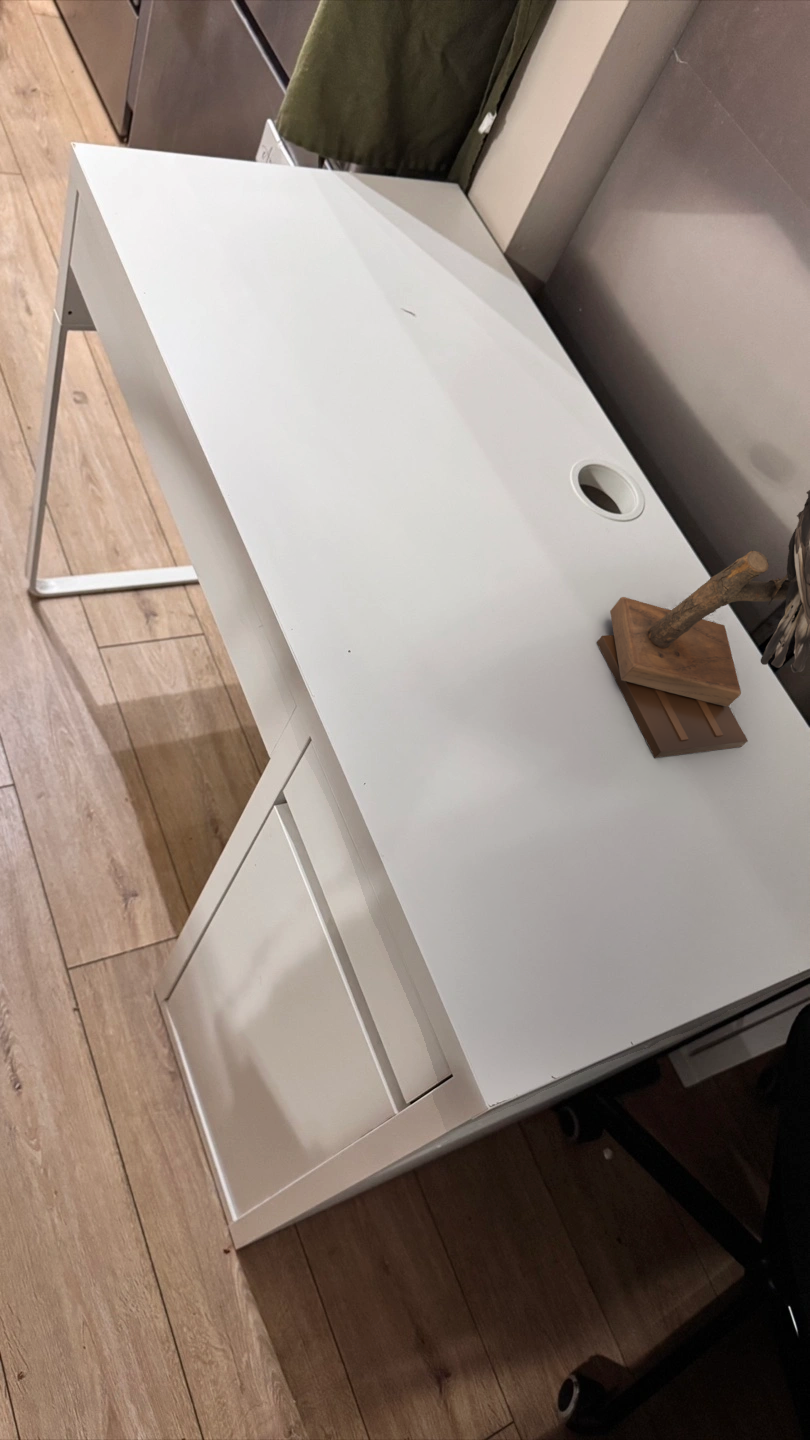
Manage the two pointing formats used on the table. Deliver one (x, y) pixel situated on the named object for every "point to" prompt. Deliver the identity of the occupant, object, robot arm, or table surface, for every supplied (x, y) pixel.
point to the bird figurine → (714, 627)
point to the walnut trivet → (674, 716)
